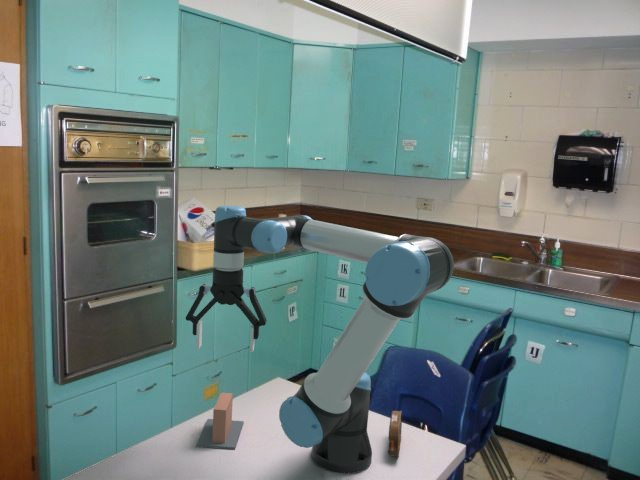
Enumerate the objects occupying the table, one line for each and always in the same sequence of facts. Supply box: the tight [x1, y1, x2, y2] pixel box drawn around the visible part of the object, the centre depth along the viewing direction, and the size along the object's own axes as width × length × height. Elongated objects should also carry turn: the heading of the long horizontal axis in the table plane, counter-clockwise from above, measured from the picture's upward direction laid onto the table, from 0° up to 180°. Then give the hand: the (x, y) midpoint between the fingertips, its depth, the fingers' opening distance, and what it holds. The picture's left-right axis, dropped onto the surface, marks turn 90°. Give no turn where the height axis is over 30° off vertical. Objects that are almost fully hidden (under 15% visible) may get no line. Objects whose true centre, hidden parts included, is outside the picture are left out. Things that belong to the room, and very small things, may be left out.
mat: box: [195, 418, 245, 451], centre depth 152 cm, size 10×14×1 cm
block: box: [212, 392, 234, 443], centre depth 151 cm, size 3×9×10 cm
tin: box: [388, 410, 403, 458], centre depth 151 cm, size 15×3×8 cm, turn 168°
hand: (225, 349), depth 146 cm, fingers open, 13 cm apart
